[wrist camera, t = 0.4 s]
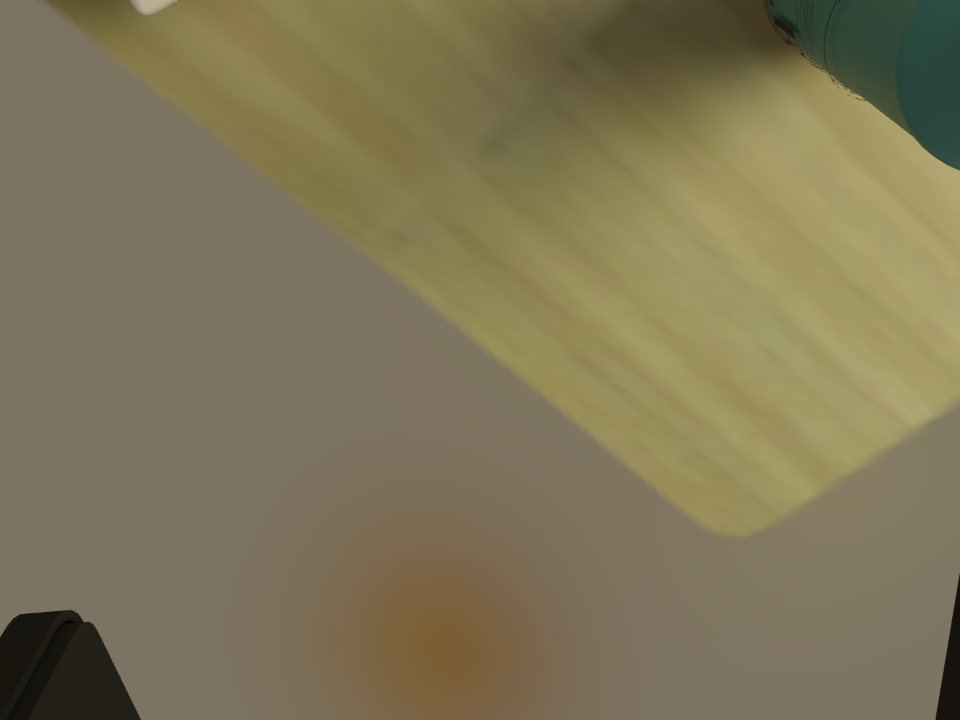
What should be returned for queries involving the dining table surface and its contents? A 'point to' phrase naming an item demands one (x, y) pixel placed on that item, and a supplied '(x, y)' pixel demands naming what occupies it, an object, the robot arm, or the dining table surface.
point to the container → (150, 5)
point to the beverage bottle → (888, 59)
